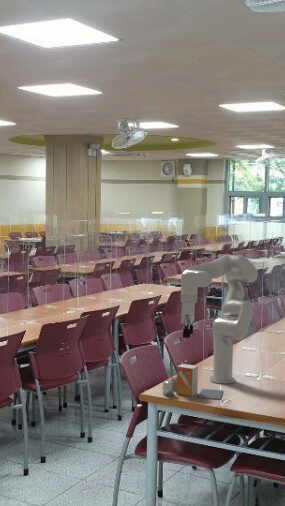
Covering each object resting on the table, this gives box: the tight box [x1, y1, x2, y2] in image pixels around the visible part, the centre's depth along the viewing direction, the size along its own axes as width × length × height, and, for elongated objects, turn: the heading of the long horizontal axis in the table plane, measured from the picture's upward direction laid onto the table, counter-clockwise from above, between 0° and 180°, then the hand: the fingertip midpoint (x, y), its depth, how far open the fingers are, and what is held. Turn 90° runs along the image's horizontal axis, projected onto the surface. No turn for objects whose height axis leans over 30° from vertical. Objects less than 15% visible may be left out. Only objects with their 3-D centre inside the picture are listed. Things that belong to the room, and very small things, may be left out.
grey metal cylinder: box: [162, 379, 175, 397], centre depth 298 cm, size 5×5×6 cm
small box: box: [175, 363, 199, 397], centre depth 300 cm, size 8×6×13 cm
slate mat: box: [197, 388, 224, 401], centre depth 299 cm, size 14×10×1 cm
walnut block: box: [170, 376, 177, 391], centre depth 308 cm, size 5×5×5 cm
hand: (187, 335), depth 298 cm, fingers open, 9 cm apart
